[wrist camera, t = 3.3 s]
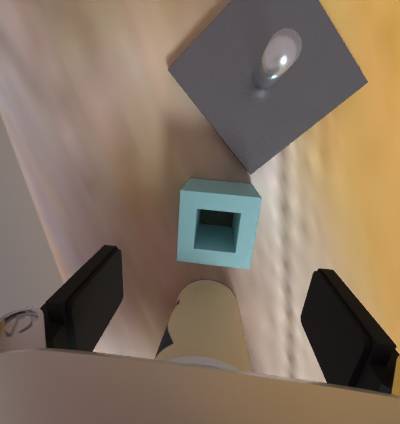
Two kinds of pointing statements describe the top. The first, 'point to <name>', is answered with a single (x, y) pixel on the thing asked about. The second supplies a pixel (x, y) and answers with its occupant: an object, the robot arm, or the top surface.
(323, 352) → the robot arm
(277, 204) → the top surface
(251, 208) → the collar
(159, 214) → the top surface
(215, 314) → the coffee cup
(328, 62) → the shaft stand
